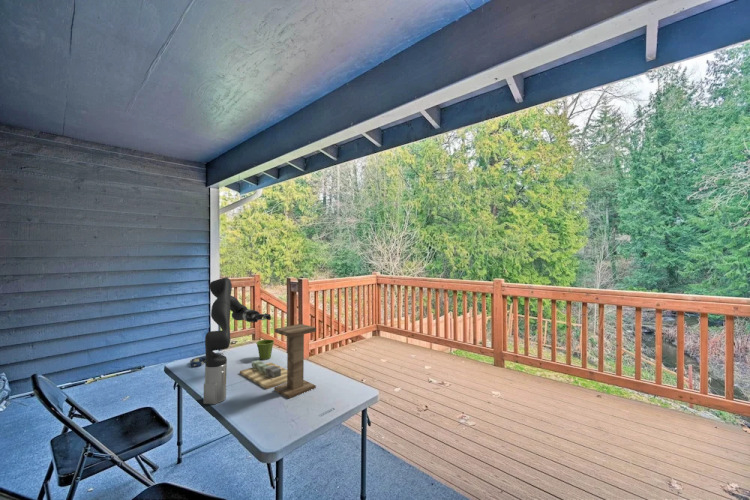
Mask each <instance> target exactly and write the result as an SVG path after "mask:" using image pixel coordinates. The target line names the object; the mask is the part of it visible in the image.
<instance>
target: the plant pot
mask: <svg viewBox="0 0 750 500" xmlns="http://www.w3.org/2000/svg"><path fill="white" fill-rule="evenodd" d="M274 343H275V340H274V339H262V340H261V339H260V340H258V341H256V342H255V344H256V347H257V351H258V355H259V360H260V361H262V360H263V361H265V360H269V359H271V358H272V352H273V347H274Z"/></svg>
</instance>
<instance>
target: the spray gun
mask: <svg viewBox="0 0 750 500" xmlns="http://www.w3.org/2000/svg"><path fill="white" fill-rule="evenodd" d="M215 353H216V354H219V355H224V352H215ZM205 361H206V354H205V355H202V356H201V355H200V356H197V357H193V358H192V359H190V361H189V362H190V366H191V367H194V368H195V367H196V368H197V367H201V366H202V365H205V364H204V363H205Z"/></svg>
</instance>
